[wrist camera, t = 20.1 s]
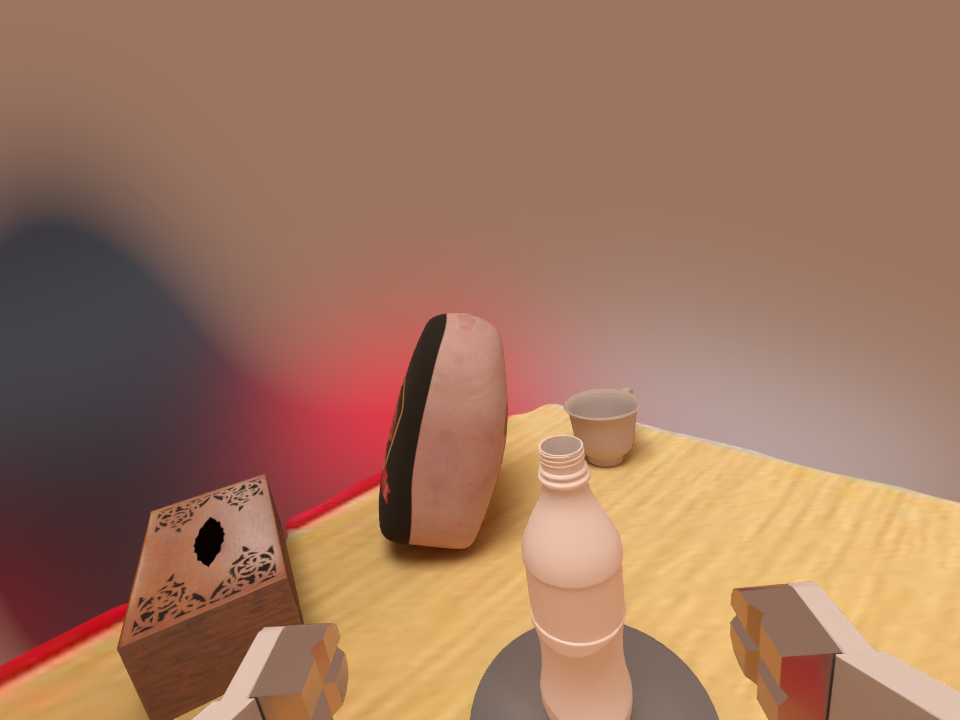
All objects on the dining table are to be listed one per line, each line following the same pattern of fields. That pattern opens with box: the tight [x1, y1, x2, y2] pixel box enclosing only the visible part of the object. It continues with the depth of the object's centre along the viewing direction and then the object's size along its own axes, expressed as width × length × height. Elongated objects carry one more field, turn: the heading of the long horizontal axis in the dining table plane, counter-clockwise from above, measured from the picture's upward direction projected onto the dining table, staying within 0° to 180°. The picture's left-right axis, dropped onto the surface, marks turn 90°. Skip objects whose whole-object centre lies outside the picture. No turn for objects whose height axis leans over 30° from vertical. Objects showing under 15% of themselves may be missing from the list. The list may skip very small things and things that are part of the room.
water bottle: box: [522, 435, 633, 720], centre depth 37 cm, size 7×7×25 cm
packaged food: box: [379, 313, 508, 549], centre depth 66 cm, size 22×20×30 cm
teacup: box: [564, 387, 641, 467], centre depth 80 cm, size 12×15×10 cm
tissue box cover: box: [117, 474, 304, 720], centre depth 59 cm, size 26×14×10 cm, turn 28°
